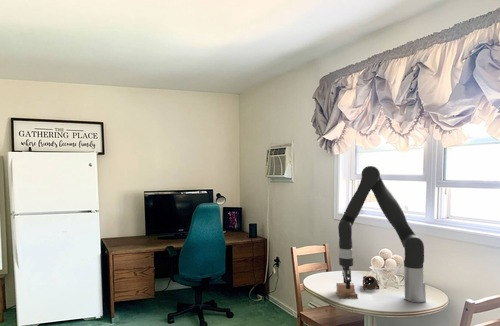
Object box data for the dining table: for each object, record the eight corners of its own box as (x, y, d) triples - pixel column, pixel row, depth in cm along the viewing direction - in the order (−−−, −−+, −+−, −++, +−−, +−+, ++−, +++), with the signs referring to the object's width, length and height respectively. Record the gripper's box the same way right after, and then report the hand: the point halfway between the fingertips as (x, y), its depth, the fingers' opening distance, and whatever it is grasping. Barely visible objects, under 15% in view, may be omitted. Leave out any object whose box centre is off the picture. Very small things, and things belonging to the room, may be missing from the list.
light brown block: (353, 292, 196) (353, 283, 196) (354, 294, 192) (354, 285, 192) (336, 292, 197) (336, 283, 197) (337, 294, 193) (337, 285, 193)
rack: (354, 292, 199) (354, 288, 199) (357, 298, 189) (357, 294, 189) (336, 291, 200) (336, 288, 200) (339, 298, 190) (339, 294, 190)
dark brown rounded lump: (384, 290, 201) (381, 280, 198) (371, 299, 199) (367, 289, 196) (370, 279, 212) (367, 269, 209) (357, 288, 210) (354, 277, 207)
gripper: (355, 259, 187) (356, 290, 187) (350, 253, 201) (351, 282, 201) (340, 259, 188) (341, 290, 188) (337, 253, 202) (338, 282, 202)
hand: (346, 286), depth 194 cm, fingers open, 8 cm apart
